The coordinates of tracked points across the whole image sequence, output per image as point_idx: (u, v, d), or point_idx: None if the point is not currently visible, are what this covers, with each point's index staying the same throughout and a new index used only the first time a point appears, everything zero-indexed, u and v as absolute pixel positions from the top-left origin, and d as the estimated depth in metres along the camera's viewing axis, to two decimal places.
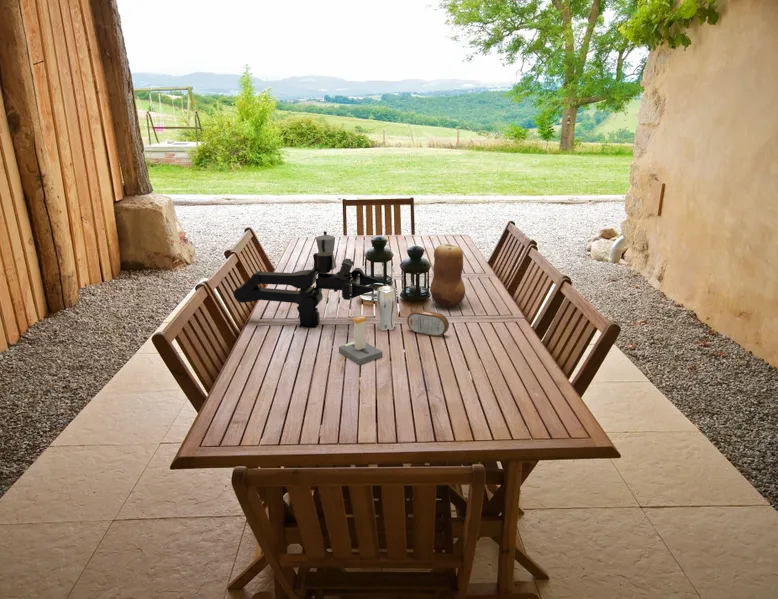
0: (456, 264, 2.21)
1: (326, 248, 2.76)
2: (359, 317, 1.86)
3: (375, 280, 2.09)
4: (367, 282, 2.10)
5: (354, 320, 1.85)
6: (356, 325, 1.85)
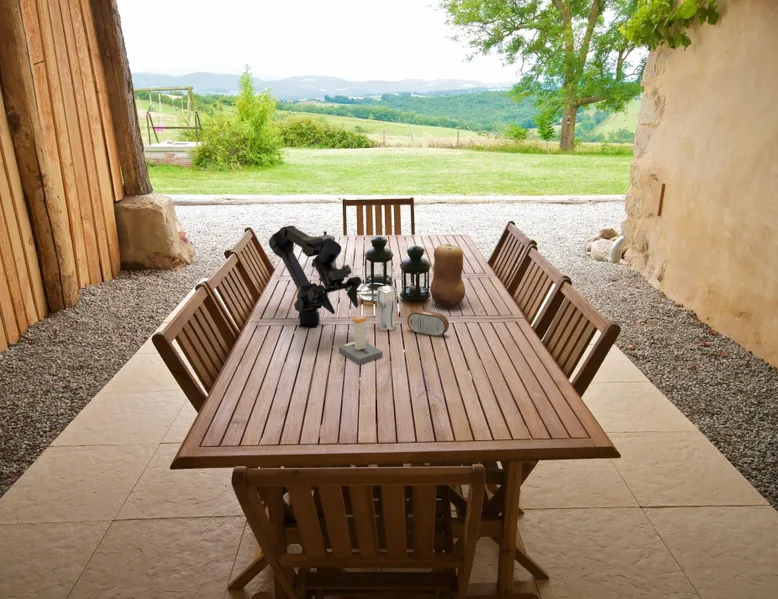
0: (456, 264, 2.21)
1: None
2: (359, 317, 1.86)
3: (355, 304, 1.94)
4: (352, 298, 1.96)
5: (354, 320, 1.85)
6: (356, 325, 1.85)
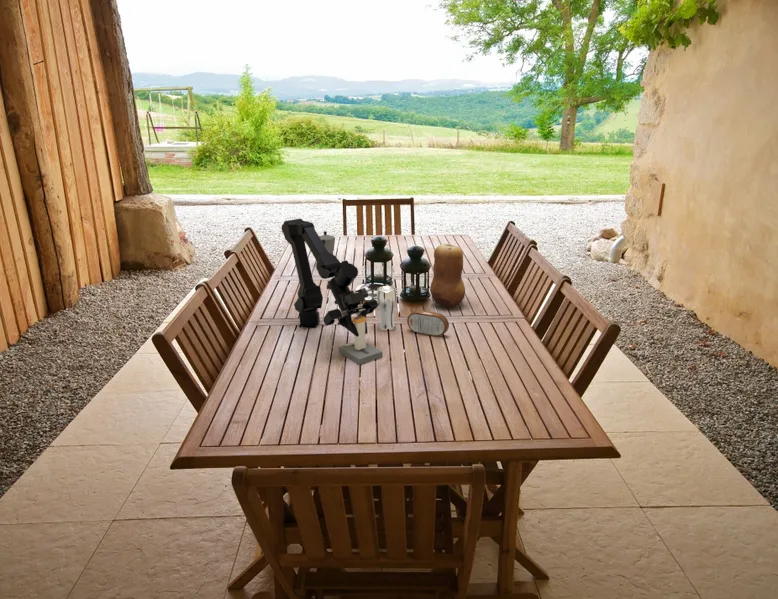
0: (456, 264, 2.21)
1: (326, 248, 2.76)
2: (359, 317, 1.86)
3: (365, 330, 1.88)
4: None
5: (354, 320, 1.85)
6: (356, 325, 1.85)
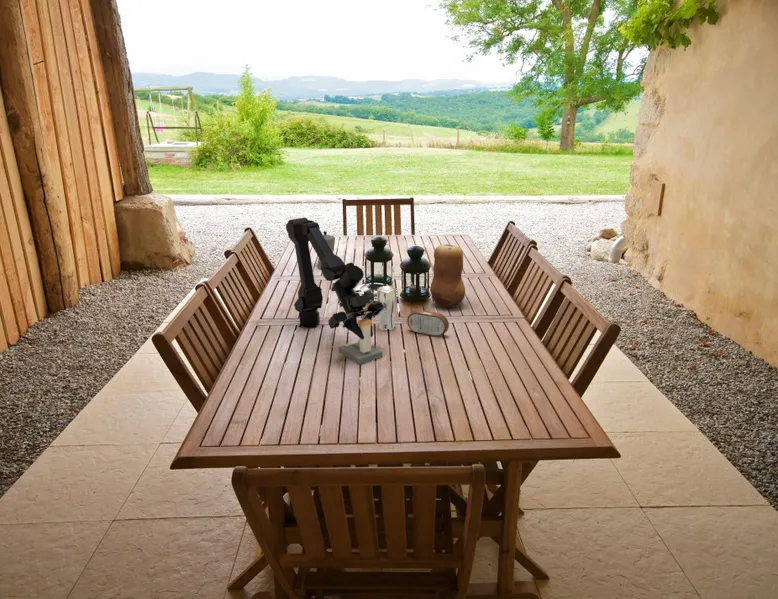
0: (456, 264, 2.21)
1: None
2: (364, 320, 1.84)
3: None
4: None
5: (359, 323, 1.83)
6: (361, 328, 1.83)
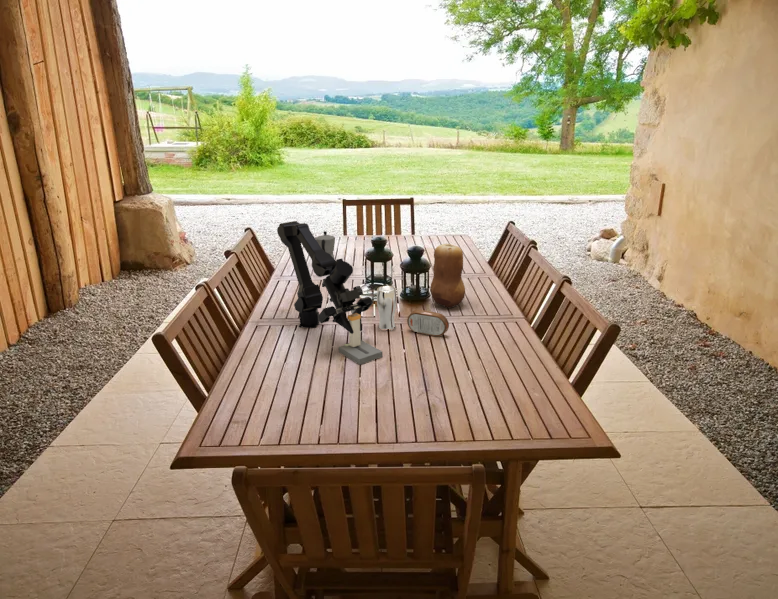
0: (456, 264, 2.21)
1: (326, 248, 2.76)
2: (354, 314, 1.88)
3: None
4: None
5: (349, 317, 1.87)
6: (351, 322, 1.88)
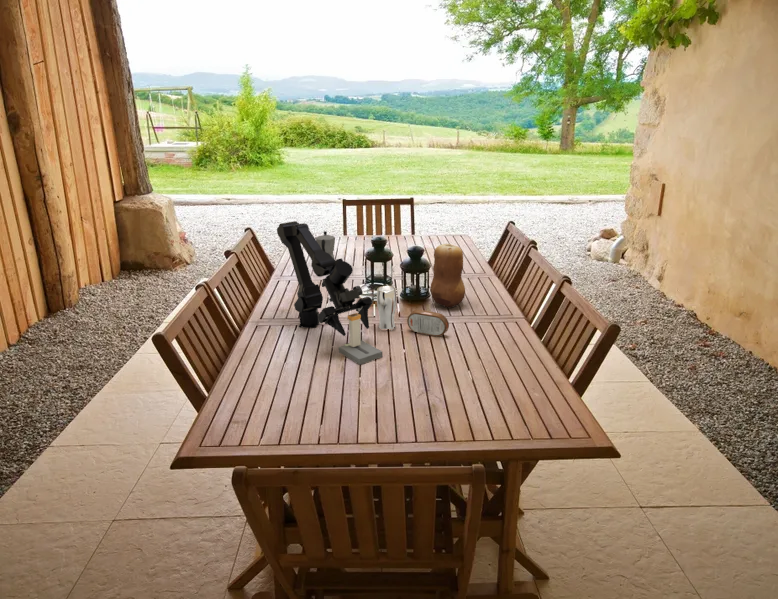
0: (456, 264, 2.21)
1: (326, 248, 2.76)
2: (354, 314, 1.88)
3: (366, 325, 1.92)
4: (362, 319, 1.93)
5: (349, 317, 1.87)
6: (351, 322, 1.88)
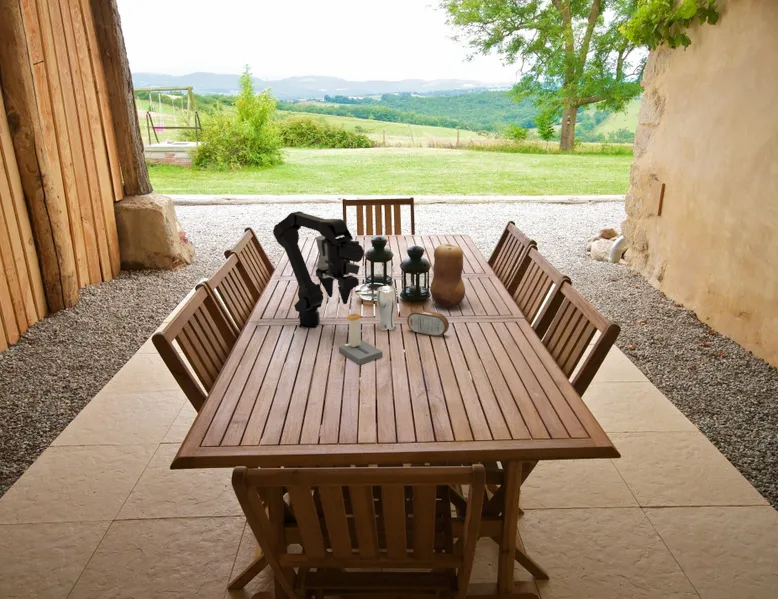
0: (456, 264, 2.21)
1: (326, 248, 2.76)
2: (354, 314, 1.88)
3: (331, 294, 2.04)
4: (327, 286, 2.03)
5: (349, 317, 1.87)
6: (351, 322, 1.88)
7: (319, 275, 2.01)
